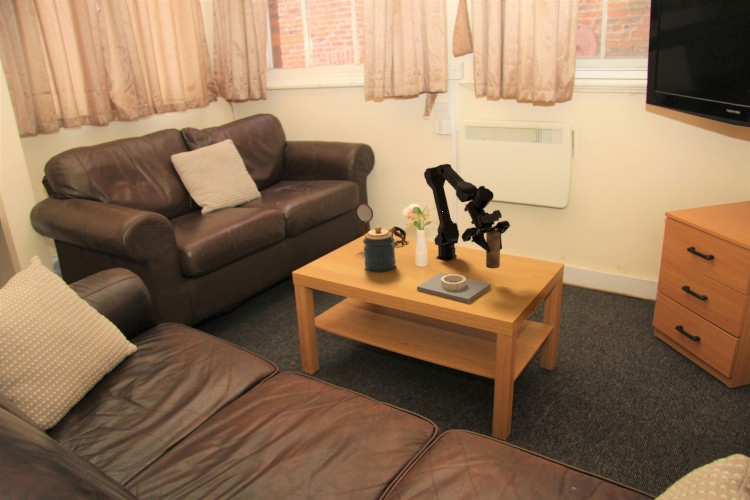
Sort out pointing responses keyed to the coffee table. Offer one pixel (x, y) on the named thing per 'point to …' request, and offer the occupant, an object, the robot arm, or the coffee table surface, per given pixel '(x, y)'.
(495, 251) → the walnut column
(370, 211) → the magnifying glass
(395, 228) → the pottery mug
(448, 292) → the base board
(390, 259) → the canister
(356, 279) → the coffee table surface
